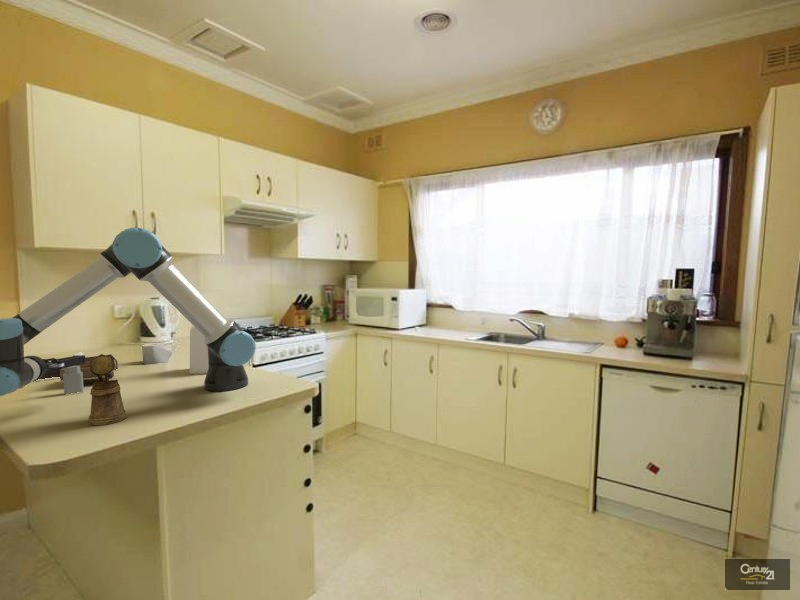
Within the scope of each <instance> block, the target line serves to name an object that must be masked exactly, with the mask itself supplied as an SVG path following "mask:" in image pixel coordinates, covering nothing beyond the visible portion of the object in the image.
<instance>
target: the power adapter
mask: <svg viewBox="0 0 800 600" xmlns="http://www.w3.org/2000/svg"><path fill="white" fill-rule="evenodd" d="M62 382H63V394H71V393H77V392H83V391H85V390H84V379H83V373H82V372H80V366H71V367H67V368H65V374H63V381H62ZM83 393H84V392H83ZM71 395H72V394H71Z"/></svg>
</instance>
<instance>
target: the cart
mask: <svg viewBox="0 0 800 600" xmlns="http://www.w3.org/2000/svg"><path fill="white" fill-rule="evenodd" d="M116 360H117V359H116ZM116 360H114V363H115V367H114V370H115V371H117V370H116ZM114 370H113V371H112V372H111V373H109V374H108V375H109V379H110V378H111V377H113V378H114V373H115V371H114ZM80 372H82V373H83V380H85V379H96V378H97V379H98V376H97V375H95V374H93V373H92V372H91V371H90V362H86V363H84V364H80ZM63 374H65V368H64V369H61V370H60V378H59V379H60V382H63ZM103 375H104V374H103Z"/></svg>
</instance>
